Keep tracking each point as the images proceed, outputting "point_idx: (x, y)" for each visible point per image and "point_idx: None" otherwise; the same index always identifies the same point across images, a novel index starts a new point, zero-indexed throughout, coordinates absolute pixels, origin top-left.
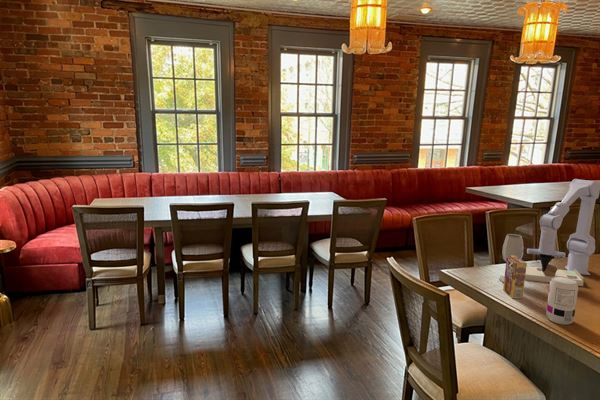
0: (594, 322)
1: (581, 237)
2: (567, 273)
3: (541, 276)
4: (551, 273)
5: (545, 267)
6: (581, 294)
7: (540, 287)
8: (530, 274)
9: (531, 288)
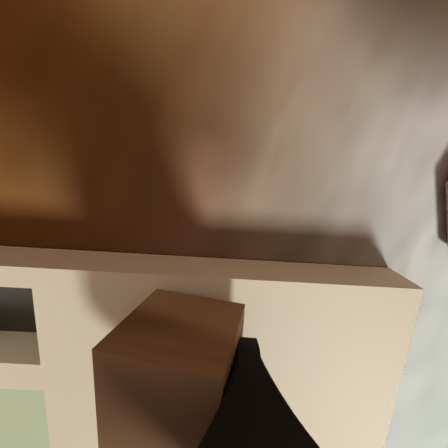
0: None
1: None
2: (21, 406)
3: (268, 278)
4: (176, 308)
5: (240, 368)
6: (3, 27)
7: (310, 112)
8: (360, 299)
9: (401, 59)
